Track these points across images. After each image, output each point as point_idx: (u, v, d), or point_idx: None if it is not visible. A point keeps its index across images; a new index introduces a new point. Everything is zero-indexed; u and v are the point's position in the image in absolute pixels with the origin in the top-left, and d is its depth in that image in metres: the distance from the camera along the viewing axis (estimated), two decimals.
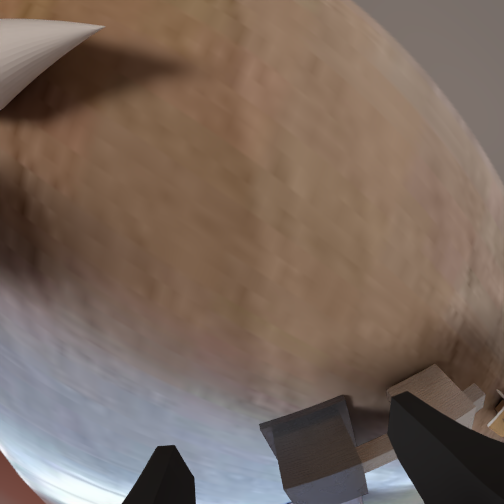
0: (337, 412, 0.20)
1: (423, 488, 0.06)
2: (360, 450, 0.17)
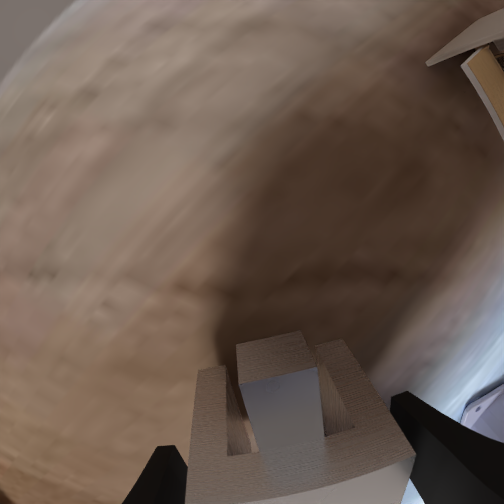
0: None
1: (423, 488, 0.06)
2: None
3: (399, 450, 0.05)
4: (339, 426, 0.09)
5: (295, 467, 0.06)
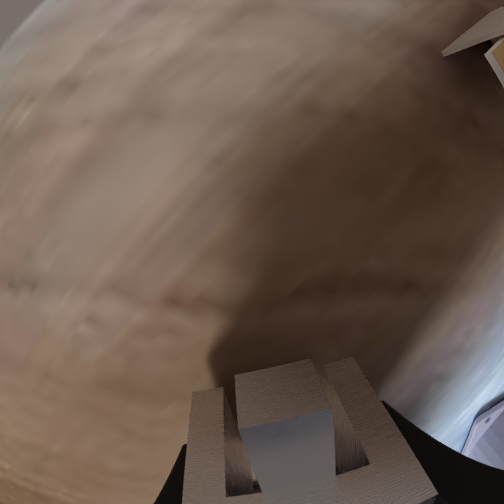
0: None
1: None
2: None
3: (419, 489, 0.04)
4: (349, 454, 0.07)
5: None
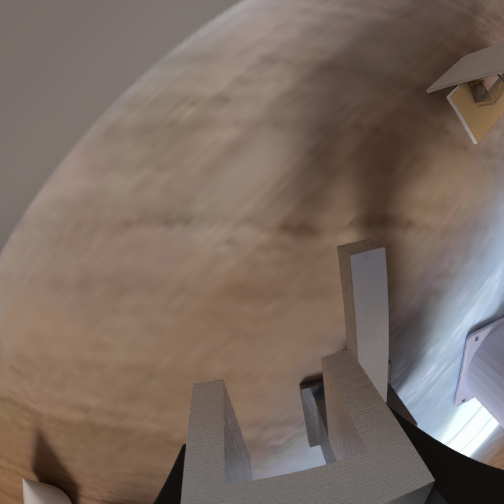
0: (313, 398, 0.19)
1: None
2: None
3: (416, 476, 0.04)
4: (347, 445, 0.07)
5: (301, 497, 0.05)
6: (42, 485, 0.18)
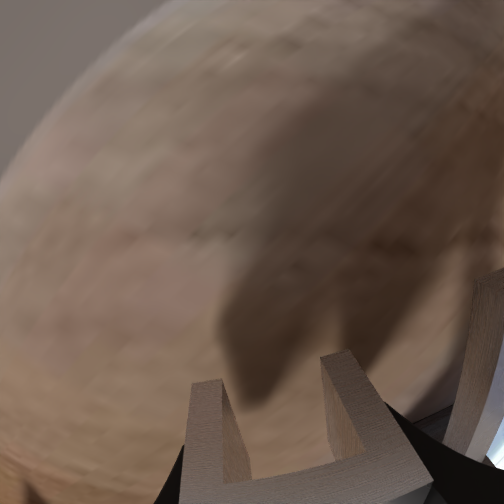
0: None
1: None
2: None
3: (415, 476, 0.04)
4: (346, 445, 0.07)
5: (299, 497, 0.05)
6: None
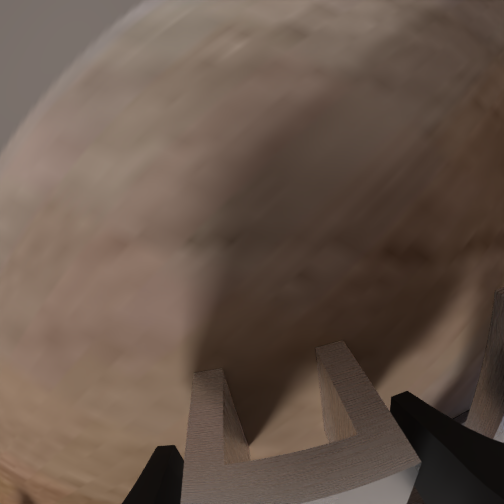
0: None
1: (423, 488, 0.06)
2: None
3: (403, 457, 0.05)
4: (340, 431, 0.08)
5: (295, 476, 0.05)
6: None
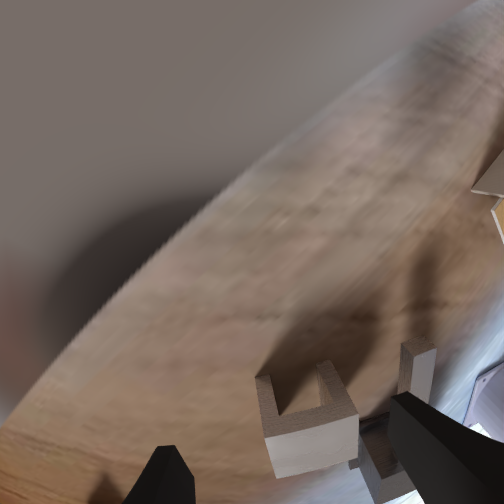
0: (360, 435, 0.21)
1: (423, 488, 0.06)
2: (392, 449, 0.19)
3: (352, 411, 0.15)
4: (328, 404, 0.18)
5: (308, 418, 0.15)
6: None
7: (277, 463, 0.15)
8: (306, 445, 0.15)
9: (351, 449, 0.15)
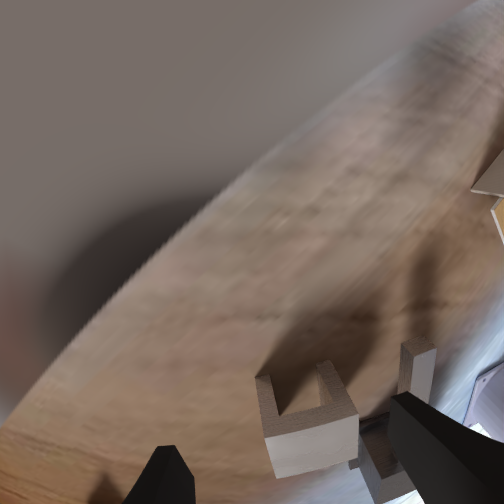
0: (360, 435, 0.21)
1: (423, 488, 0.06)
2: (392, 449, 0.19)
3: (351, 411, 0.15)
4: (328, 404, 0.18)
5: (308, 418, 0.15)
6: None
7: (277, 463, 0.15)
8: (306, 445, 0.15)
9: (351, 449, 0.15)
